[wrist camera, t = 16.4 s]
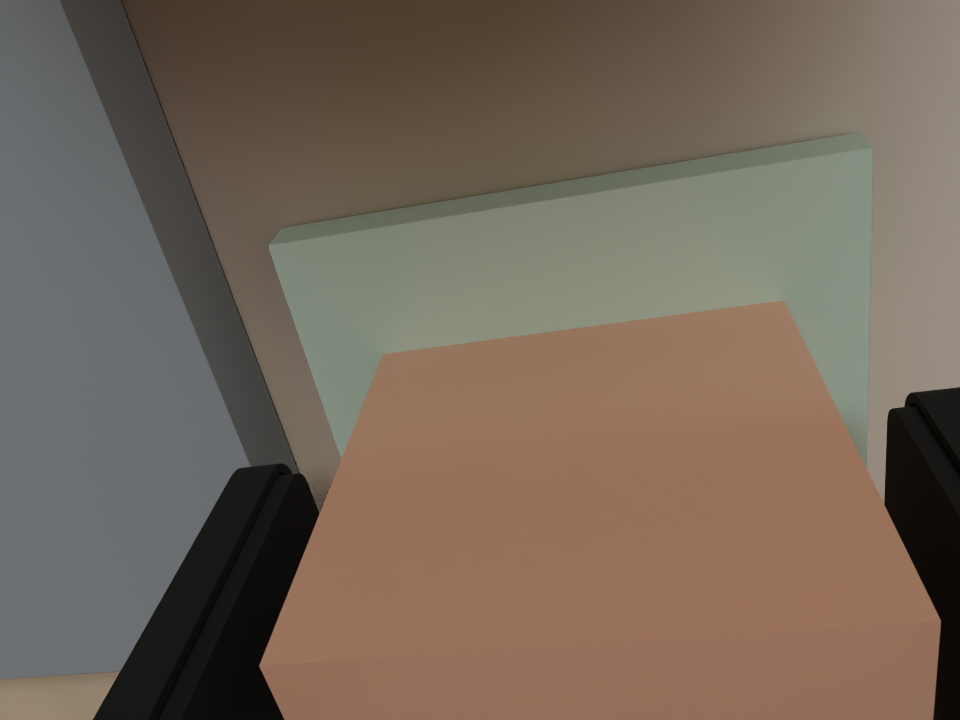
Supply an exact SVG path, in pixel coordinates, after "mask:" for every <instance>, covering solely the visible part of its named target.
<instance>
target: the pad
mask: <svg viewBox="0 0 960 720" xmlns="http://www.w3.org/2000/svg"><path fill="white" fill-rule="evenodd" d="M872 183H873V147H872V146H871V145H870V144H869V143H868V142H867V141H866V140H865V139H863V138H862V137H861V136H860V135H859V134H858V133H852V134H846V135H840V136H834V137H828V138H822V139H816V140H810V141H804V142H798V143H792V144H786V145H780V146H774V147H768V148H762V149H756V150H750V151H744V152H738V153H732V154H726V155H720V156H714V157H708V158H701V159H695V160H689V161H683V162H677V163H671V164H665V165H659V166H653V167H647V168H641V169H635V170H629V171H623V172H617V173H611V174H605V175H599V176H593V177H587V178H581V179H575V180H569V181H563V182H557V183H551V184H545V185H539V186H533V187H527V188H521V189H514V190H508V191H502V192H496V193H490V194H484V195H478V196H472V197H466V198H460V199H454V200H448V201H442V202H436V203H430V204H424V205H418V206H412V207H406V208H400V209H394V210H388V211H382V212H376V213H370V214H364V215H358V216H352V217H346V218H340V219H333V220H327V221H321V222H315V223H309V224H303V225H297V226H291V227H285V228H282V229H281V230H280V231H279V233H278V234H277V235H276V236H275V237H274V239H273V240H272V241H271V242H270V243H269V245H268V248H269V251H270V254H271V257H272V260H273V263H274V266H275V269H276V271H277V274H278V277H279V280H280V283H281V286H282V289H283V292H284V295H285V298H286V300H287V303H288V306H289V309H290V312H291V315H292V318H293V321H294V324H295V327H296V330H297V332H298V335H299V338H300V341H301V344H302V347H303V350H304V353H305V356H306V359H307V361H308V364H309V367H310V370H311V373H312V376H313V379H314V382H315V385H316V388H317V390H318V393H319V396H320V399H321V402H322V405H323V408H324V411H325V414H326V417H327V419H328V422H329V425H330V428H331V431H332V434H333V437H334V440H335V443H336V446H337V448H338V451H339V454H340V457H341V459H342V456H343V454H344V451H345V449H346V446H347V444H348V441H349V439H350V436H351V434H352V431H353V429H354V426H355V424H356V421H357V418H358V416H359V413H360V411H361V408H362V406H363V403H364V401H365V398H366V396H367V393H368V391H369V388H370V386H371V383H372V381H373V378H374V376H375V373H376V371H377V368H378V366H379V363H380V361H381V358H382V356H383V354H388V353H395V352H403V351H410V350H418V349H425V348H433V347H440V346H448V345H455V344H462V343H470V342H477V341H485V340H492V339H500V338H507V337H514V336H522V335H529V334H537V333H544V332H552V331H559V330H566V329H574V328H581V327H589V326H596V325H604V324H611V323H619V322H626V321H633V320H641V319H648V318H656V317H663V316H671V315H678V314H685V313H693V312H700V311H708V310H715V309H723V308H730V307H738V306H745V305H752V304H760V303H767V302H775V301H782V300H784V301H785V303H786V305H787V307H788V309H789V311H790V313H791V315H792V317H793V319H794V322H795V324H796V326H797V328H798V330H799V332H800V334H801V336H802V338H803V340H804V342H805V344H806V346H807V348H808V350H809V352H810V354H811V356H812V358H813V360H814V362H815V364H816V366H817V369H818V371H819V373H820V375H821V377H822V379H823V381H824V383H825V385H826V387H827V389H828V391H829V393H830V395H831V397H832V399H833V401H834V403H835V405H836V407H837V409H838V411H839V413H840V416H841V418H842V420H843V422H844V424H845V426H846V428H847V430H848V432H849V434H850V436H851V438H852V440H853V442H854V444H855V446H856V448H857V450H858V452H859V454H860V456H861V458H862V460H863V462H864V465H865V467H866V469H867V422H868V374H869V327H870V279H871V231H872Z"/></svg>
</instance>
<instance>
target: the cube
mask: <svg viewBox="0 0 960 720" xmlns="http://www.w3.org/2000/svg"><path fill="white" fill-rule="evenodd" d="M940 628H941V620H940V618H939V616H938V614H937V612H936V610H935V608H934V605H933V603H932V601H931V599H930V597H929V595H928V593H927V591H926V589H925V587H924V585H923V583H922V581H921V579H920V577H919V575H918V573H917V571H916V569H915V567H914V565H913V563H912V561H911V559H910V556H909V554H908V552H907V550H906V548H905V546H904V544H903V542H902V540H901V538H900V536H899V534H898V532H897V530H896V528H895V526H894V524H893V522H892V520H891V518H890V516H889V514H888V512H887V509H886V507H885V505H884V503H883V501H882V499H881V497H880V495H879V493H878V491H877V489H876V487H875V485H874V483H873V481H872V479H871V477H870V475H869V473H868V471H867V469H866V467H865V465H864V462H863V460H862V458H861V456H860V454H859V452H858V450H857V448H856V446H855V444H854V442H853V440H852V438H851V436H850V434H849V432H848V430H847V428H846V426H845V424H844V422H843V420H842V418H841V416H840V413H839V411H838V409H837V407H836V405H835V403H834V401H833V399H832V397H831V395H830V393H829V391H828V389H827V387H826V385H825V383H824V381H823V379H822V377H821V375H820V373H819V371H818V369H817V366H816V364H815V362H814V360H813V358H812V356H811V354H810V352H809V350H808V348H807V346H806V344H805V342H804V340H803V338H802V336H801V334H800V332H799V330H798V328H797V326H796V324H795V322H794V319H793V317H792V315H791V313H790V311H789V309H788V307H787V305H786V303H785V301H784V300H782V301H775V302H767V303H760V304H752V305H745V306H738V307H730V308H723V309H715V310H708V311H700V312H693V313H685V314H678V315H671V316H663V317H656V318H648V319H641V320H633V321H626V322H619V323H611V324H604V325H596V326H589V327H581V328H574V329H566V330H559V331H552V332H544V333H537V334H529V335H522V336H514V337H507V338H500V339H492V340H485V341H477V342H470V343H462V344H455V345H448V346H440V347H433V348H425V349H418V350H410V351H403V352H395V353H388V354H383V356H382V358H381V361H380V363H379V366H378V368H377V371H376V373H375V376H374V378H373V381H372V383H371V386H370V388H369V391H368V393H367V396H366V398H365V401H364V403H363V406H362V408H361V411H360V413H359V416H358V418H357V421H356V424H355V426H354V429H353V431H352V434H351V436H350V439H349V441H348V444H347V446H346V449H345V451H344V454H343V456H342V459H341V461H340V464H339V466H338V469H337V471H336V474H335V476H334V479H333V481H332V484H331V486H330V489H329V491H328V494H327V496H326V499H325V502H324V504H323V507H322V509H321V512H320V514H319V517H318V519H317V522H316V524H315V527H314V529H313V532H312V534H311V537H310V539H309V542H308V544H307V547H306V549H305V552H304V554H303V557H302V559H301V562H300V564H299V567H298V569H297V572H296V575H295V577H294V580H293V582H292V585H291V587H290V590H289V592H288V595H287V597H286V600H285V602H284V605H283V607H282V610H281V612H280V615H279V617H278V620H277V622H276V625H275V627H274V630H273V632H272V635H271V637H270V640H269V642H268V645H267V648H266V650H265V653H264V655H263V658H262V660H261V663H260V665H259V667H260V669H261V671H262V673H263V675H264V677H265V679H266V681H267V684H268V686H269V688H270V690H271V692H272V694H273V696H274V698H275V701H276V703H277V705H278V707H279V709H280V711H281V713H282V715H283V718H284V720H933V715H934V703H935V690H936V678H937V665H938V653H939V640H940Z"/></svg>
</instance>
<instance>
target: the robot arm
mask: <svg viewBox="0 0 960 720" xmlns="http://www.w3.org/2000/svg"><path fill="white" fill-rule="evenodd" d="M885 507H886V509H887V512H888V514H889V516H890V518H891V520H892V522H893V524H894V526H895V528H896V530H897V532H898V534H899V536H900V538H901V540H902V542H903V544H904V546H905V548H906V550H907V552H908V554H909V556H910V559H911V561H912V563H913V565H914V567H915V569H916V571H917V573H918V575H919V577H920V579H921V581H922V583H923V585H924V587H925V589H926V591H927V593H928V595H929V597H930V599H931V601H932V603H933V605H934V608H935V610H936V612H937V614H938V616H939V618H940V620H941V628H940V640H939V653H938V665H937V678H936V690H935V703H934V715H933V720H960V387H959V388H950V389H941V390H932V391H923V392H914V393H910V394H909V395H908V396H907V398H906V401H905V407H902V408H893V409H891V410H890V411H889V414H888V421H887V447H886V476H885ZM318 517H319V512H318V509H317V507H316V504H315V501H314V499H313V496H312V493H311V491H310V488H309V485H308V483H307V481H306V479H305V477H304V476H303V475H302V474H299V473H296V474H293V473H292V471H291V469H290V468H289V467H288V466H287V465H285V464H282V463H279V464H270V465H261V466H252V467H243V468H239V469H237V470H236V471H235V472H234V473H233V474H232V476H231V477H230V479H229V481H228V483H227V484H226V486H225V488H224V490H223V491H222V493H221V495H220V497H219V498H218V500H217V502H216V504H215V506H214V507H213V509H212V511H211V513H210V514H209V516H208V518H207V520H206V521H205V523H204V525H203V527H202V528H201V530H200V532H199V534H198V535H197V537H196V539H195V541H194V542H193V544H192V546H191V548H190V550H189V551H188V553H187V555H186V557H185V558H184V560H183V562H182V564H181V565H180V567H179V569H178V571H177V572H176V574H175V576H174V578H173V579H172V581H171V583H170V585H169V587H168V588H167V590H166V592H165V594H164V595H163V597H162V599H161V601H160V602H159V604H158V606H157V608H156V609H155V611H154V613H153V615H152V616H151V618H150V620H149V622H148V624H147V625H146V627H145V629H144V631H143V632H142V634H141V636H140V638H139V639H138V641H137V643H136V645H135V646H134V648H133V650H132V652H131V653H130V655H129V657H128V659H127V661H126V662H125V664H124V666H123V668H122V669H121V671H120V673H119V675H118V676H117V678H116V680H115V682H114V683H113V685H112V687H111V689H110V690H109V692H108V694H107V696H106V698H105V699H104V701H103V703H102V705H101V706H100V708H99V710H98V712H97V713H96V715H95V717H94V719H93V720H284V718H283V715H282V713H281V711H280V709H279V707H278V705H277V703H276V701H275V698H274V696H273V694H272V692H271V690H270V688H269V686H268V684H267V681H266V679H265V677H264V675H263V673H262V671H261V669H260V667H259V665H260V663H261V660H262V658H263V655H264V653H265V650H266V648H267V645H268V642H269V640H270V637H271V635H272V632H273V630H274V627H275V625H276V622H277V620H278V617H279V615H280V612H281V610H282V607H283V605H284V602H285V600H286V597H287V595H288V592H289V590H290V587H291V585H292V582H293V580H294V577H295V575H296V572H297V569H298V567H299V564H300V562H301V559H302V557H303V554H304V552H305V549H306V547H307V544H308V542H309V539H310V537H311V534H312V532H313V529H314V527H315V524H316V522H317V519H318Z"/></svg>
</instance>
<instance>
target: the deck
mask: <svg viewBox="0 0 960 720" xmlns="http://www.w3.org/2000/svg"><path fill="white" fill-rule="evenodd" d="M279 463H282V464H285V465H287V466H288V467H289V468H290V469H291V471H292V473H293V474H296V473H299V472H298V469H297V467H296V464H295V461H294V459H293V456H292V453H291V451H290V448H289V445H288V443H287V440H286V437H285V435H284V432H283V429H282V427H281V424H280V422H279V419H278V416H277V414H276V411H275V408H274V406H273V403H272V400H271V398H270V395H269V392H268V390H267V387H266V384H265V382H264V379H263V376H262V374H261V371H260V369H259V366H258V363H257V361H256V358H255V355H254V353H253V350H252V347H251V345H250V342H249V339H248V337H247V334H246V331H245V329H244V326H243V324H242V321H241V318H240V316H239V313H238V310H237V308H236V305H235V302H234V300H233V297H232V294H231V292H230V289H229V286H228V284H227V281H226V279H225V276H224V273H223V271H222V268H221V265H220V263H219V260H218V257H217V255H216V252H215V249H214V247H213V244H212V241H211V239H210V236H209V233H208V231H207V228H206V226H205V223H204V220H203V218H202V215H201V212H200V210H199V207H198V204H197V202H196V199H195V196H194V194H193V191H192V188H191V186H190V183H189V181H188V178H187V175H186V173H185V170H184V167H183V165H182V162H181V159H180V157H179V154H178V151H177V149H176V146H175V143H174V141H173V138H172V136H171V133H170V130H169V128H168V125H167V122H166V120H165V117H164V114H163V112H162V109H161V106H160V104H159V101H158V98H157V96H156V93H155V91H154V88H153V85H152V83H151V80H150V77H149V75H148V72H147V69H146V67H145V64H144V61H143V59H142V56H141V53H140V51H139V48H138V45H137V43H136V40H135V38H134V35H133V32H132V30H131V27H130V24H129V22H128V19H127V16H126V14H125V11H124V8H123V6H122V3H121V0H0V679H11V678H26V677H41V676H56V675H71V674H86V673H101V672H117V671H121V669H122V668H123V666H124V664H125V662H126V661H127V659H128V657H129V655H130V653H131V652H132V650H133V648H134V646H135V645H136V643H137V641H138V639H139V638H140V636H141V634H142V632H143V631H144V629H145V627H146V625H147V624H148V622H149V620H150V618H151V616H152V615H153V613H154V611H155V609H156V608H157V606H158V604H159V602H160V601H161V599H162V597H163V595H164V594H165V592H166V590H167V588H168V587H169V585H170V583H171V581H172V579H173V578H174V576H175V574H176V572H177V571H178V569H179V567H180V565H181V564H182V562H183V560H184V558H185V557H186V555H187V553H188V551H189V550H190V548H191V546H192V544H193V542H194V541H195V539H196V537H197V535H198V534H199V532H200V530H201V528H202V527H203V525H204V523H205V521H206V520H207V518H208V516H209V514H210V513H211V511H212V509H213V507H214V506H215V504H216V502H217V500H218V498H219V497H220V495H221V493H222V491H223V490H224V488H225V486H226V484H227V483H228V481H229V479H230V477H231V476H232V474H233V473H234V472H235V471H236V470H237V469H239V468H243V467H252V466H261V465H270V464H279Z"/></svg>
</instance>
